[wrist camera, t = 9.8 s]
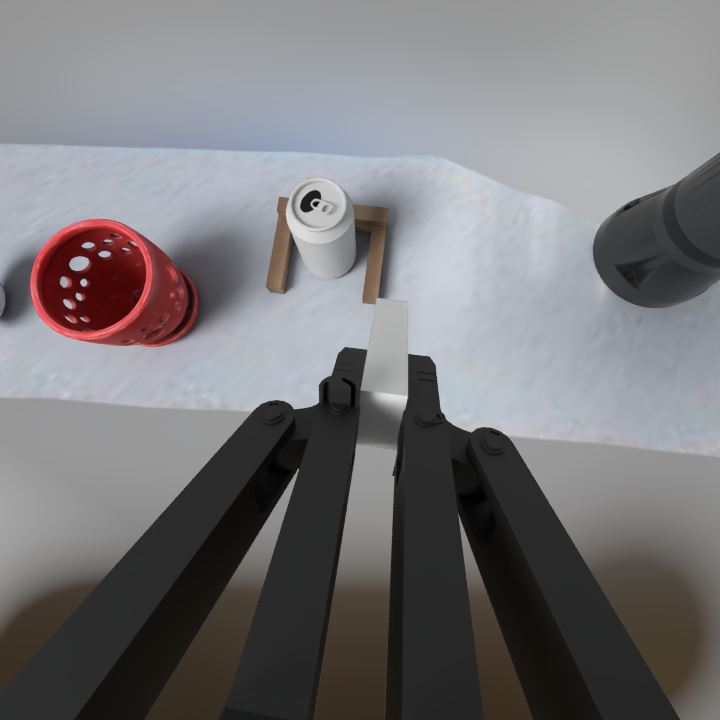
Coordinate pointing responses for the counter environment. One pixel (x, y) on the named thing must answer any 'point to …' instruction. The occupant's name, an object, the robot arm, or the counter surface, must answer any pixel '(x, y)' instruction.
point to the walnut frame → (364, 222)
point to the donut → (2, 300)
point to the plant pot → (112, 287)
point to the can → (323, 226)
